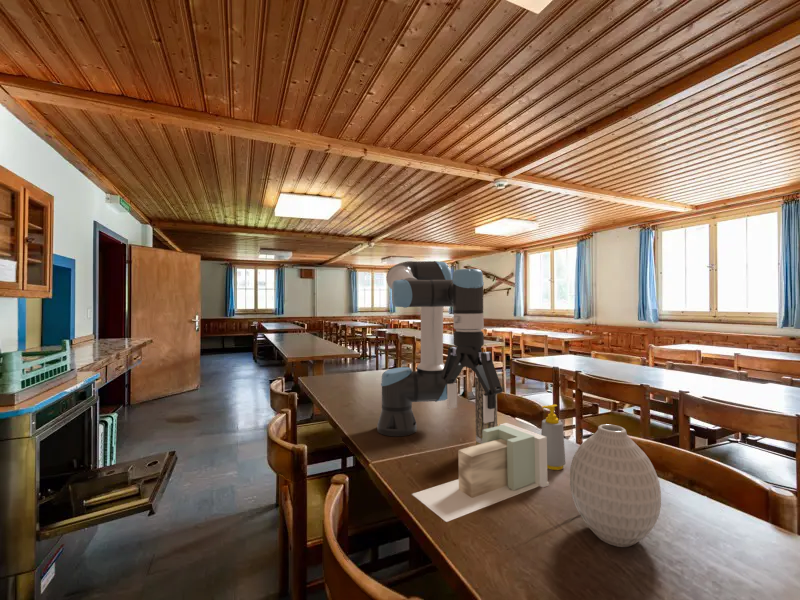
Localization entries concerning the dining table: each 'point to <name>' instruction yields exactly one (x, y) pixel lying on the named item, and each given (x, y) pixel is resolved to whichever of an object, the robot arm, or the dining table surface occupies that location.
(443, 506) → the track
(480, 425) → the bark log
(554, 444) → the soap bottle
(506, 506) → the dining table surface
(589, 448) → the vase
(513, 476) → the socket block
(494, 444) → the beige wooden block
